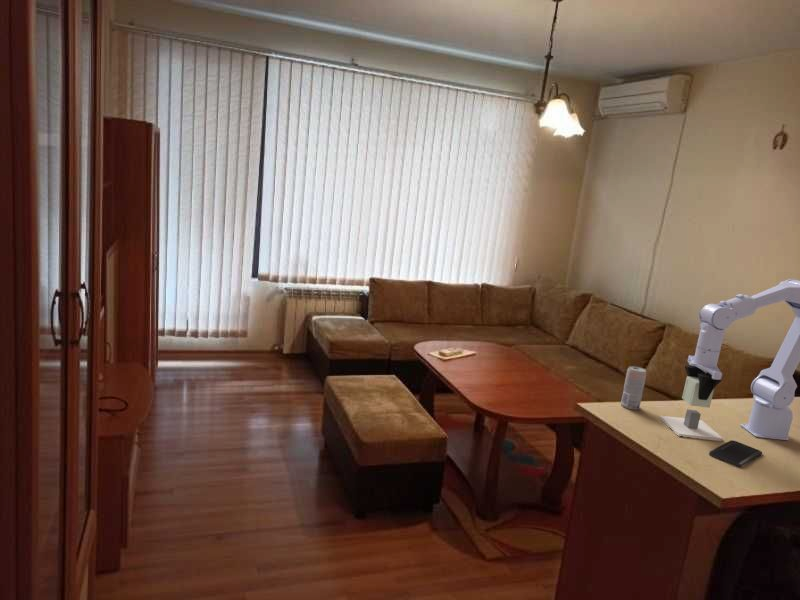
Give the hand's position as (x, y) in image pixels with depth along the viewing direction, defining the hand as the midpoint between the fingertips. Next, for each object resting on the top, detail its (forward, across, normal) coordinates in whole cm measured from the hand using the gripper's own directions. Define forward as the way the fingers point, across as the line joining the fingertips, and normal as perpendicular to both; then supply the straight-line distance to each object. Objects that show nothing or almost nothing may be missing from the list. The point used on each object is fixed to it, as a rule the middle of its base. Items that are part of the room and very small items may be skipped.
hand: (697, 395), depth 159 cm
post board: (+10, 0, 0) cm, 10 cm away
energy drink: (+10, -13, -12) cm, 20 cm away
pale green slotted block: (+2, 0, 0) cm, 2 cm away
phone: (+11, +14, +5) cm, 18 cm away
